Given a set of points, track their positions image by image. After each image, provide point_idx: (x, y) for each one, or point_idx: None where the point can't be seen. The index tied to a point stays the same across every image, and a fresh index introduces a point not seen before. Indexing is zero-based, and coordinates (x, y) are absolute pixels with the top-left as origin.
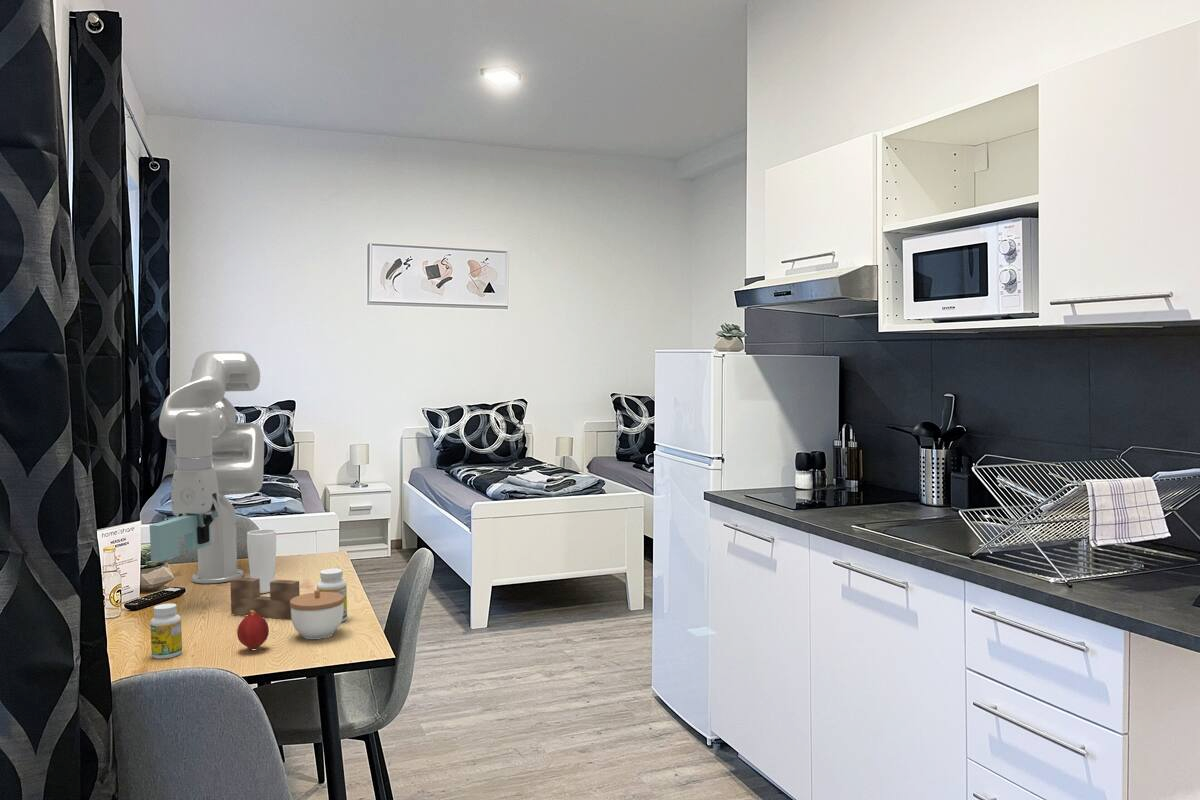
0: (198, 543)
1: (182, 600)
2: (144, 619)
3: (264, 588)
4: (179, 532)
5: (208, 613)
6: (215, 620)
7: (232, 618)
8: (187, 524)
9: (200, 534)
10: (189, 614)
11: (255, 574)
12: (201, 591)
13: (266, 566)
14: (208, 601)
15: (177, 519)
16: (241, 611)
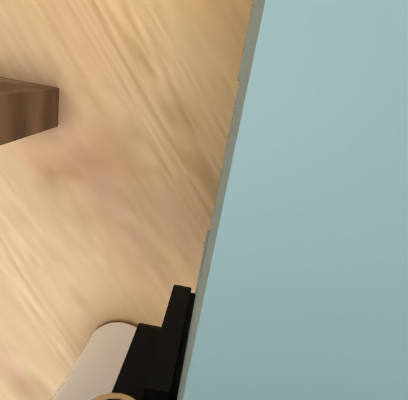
0: (189, 288)
1: None
2: None
3: (96, 333)
4: (238, 93)
5: (151, 106)
6: (73, 17)
7: (30, 47)
8: (199, 299)
9: (160, 341)
10: (212, 90)
11: (104, 363)
12: None
13: (57, 391)
14: None
15: (331, 172)
16: (9, 81)
